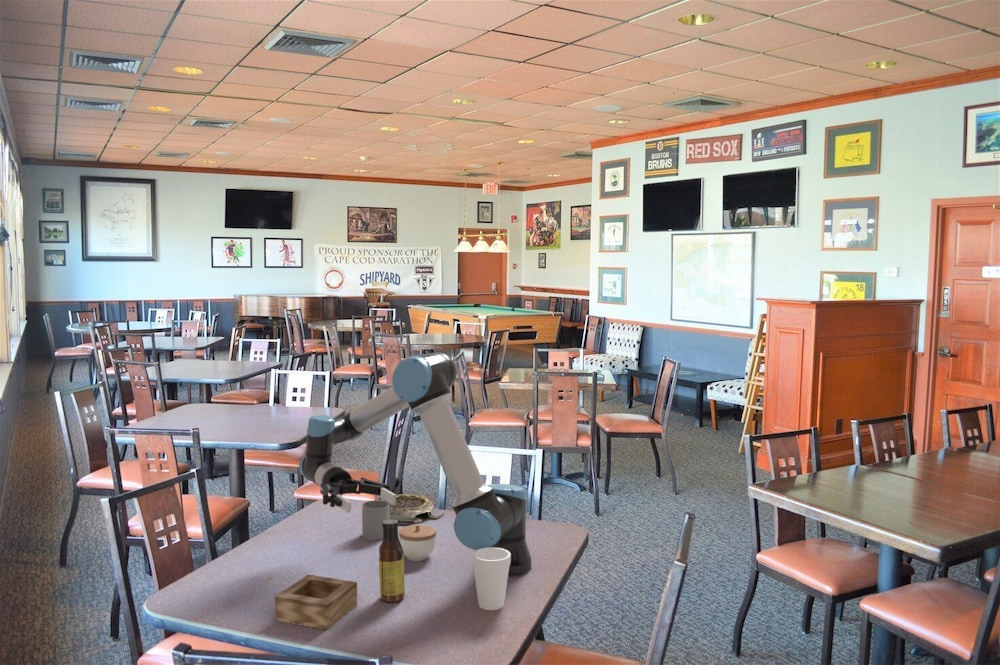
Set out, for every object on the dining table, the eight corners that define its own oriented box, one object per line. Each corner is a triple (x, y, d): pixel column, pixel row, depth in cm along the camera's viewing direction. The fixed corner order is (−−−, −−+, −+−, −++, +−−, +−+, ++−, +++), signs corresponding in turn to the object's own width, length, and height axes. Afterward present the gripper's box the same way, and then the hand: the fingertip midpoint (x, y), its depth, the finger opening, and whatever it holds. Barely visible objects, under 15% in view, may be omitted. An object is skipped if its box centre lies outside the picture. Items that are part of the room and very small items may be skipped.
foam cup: (496, 616, 187) (497, 563, 186) (465, 607, 192) (465, 556, 191) (517, 602, 195) (517, 551, 194) (486, 593, 200) (486, 544, 199)
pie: (346, 520, 259) (346, 505, 259) (387, 499, 285) (387, 485, 284) (422, 531, 249) (422, 516, 249) (457, 508, 274) (457, 494, 274)
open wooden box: (357, 605, 193) (357, 582, 192) (326, 630, 179) (326, 605, 179) (308, 597, 197) (308, 574, 197) (275, 620, 184) (274, 596, 184)
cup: (383, 541, 239) (383, 509, 238) (358, 539, 240) (358, 507, 239) (392, 532, 247) (392, 501, 246) (368, 530, 248) (368, 499, 248)
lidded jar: (413, 566, 218) (413, 534, 217) (391, 556, 226) (391, 524, 225) (443, 557, 225) (443, 526, 224) (421, 547, 233) (421, 517, 232)
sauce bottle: (409, 598, 197) (409, 521, 196) (390, 605, 193) (390, 527, 191) (393, 590, 202) (393, 515, 200) (374, 598, 197) (373, 521, 196)
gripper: (370, 486, 229) (411, 510, 213) (291, 498, 212) (328, 525, 196) (372, 461, 228) (413, 483, 212) (293, 471, 211) (330, 496, 196)
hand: (372, 503), depth 204 cm, fingers open, 13 cm apart
